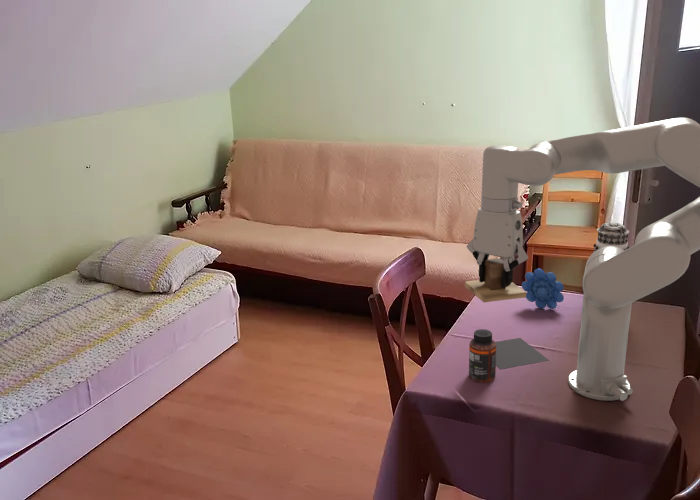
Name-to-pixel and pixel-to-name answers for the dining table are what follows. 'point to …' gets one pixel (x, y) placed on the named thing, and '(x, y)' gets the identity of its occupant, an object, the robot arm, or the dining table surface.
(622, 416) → the dining table surface
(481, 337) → the supplement bottle
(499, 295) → the oak lid
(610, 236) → the decorative candle
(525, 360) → the dark gray mat
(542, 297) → the blue flower shape
